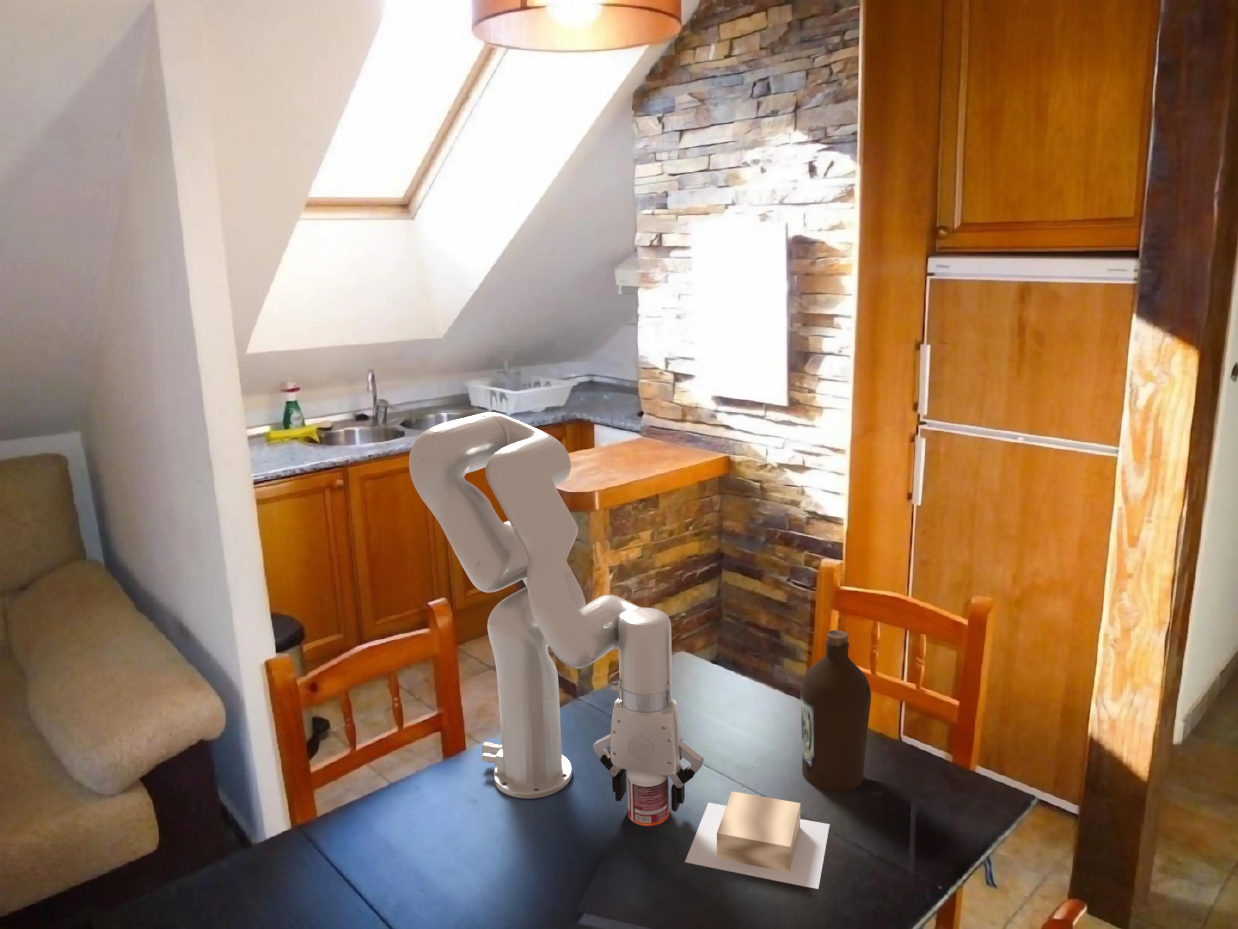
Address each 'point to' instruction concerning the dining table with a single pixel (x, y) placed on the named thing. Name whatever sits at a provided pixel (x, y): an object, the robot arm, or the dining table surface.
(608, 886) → the dining table surface
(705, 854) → the white paper sheet
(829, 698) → the olive oil
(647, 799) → the pill bottle
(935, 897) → the dining table surface
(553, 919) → the dining table surface
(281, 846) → the dining table surface
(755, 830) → the birch riser
